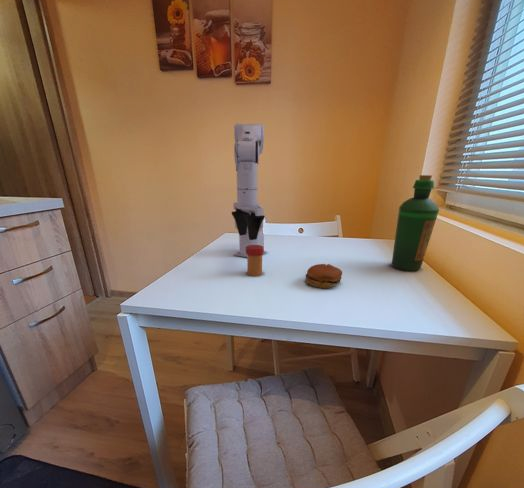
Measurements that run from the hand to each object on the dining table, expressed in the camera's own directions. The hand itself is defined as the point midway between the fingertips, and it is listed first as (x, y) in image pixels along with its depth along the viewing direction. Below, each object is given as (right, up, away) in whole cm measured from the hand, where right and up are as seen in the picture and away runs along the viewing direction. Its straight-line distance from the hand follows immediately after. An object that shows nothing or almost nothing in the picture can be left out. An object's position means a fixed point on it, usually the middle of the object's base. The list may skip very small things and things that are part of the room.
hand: (247, 237), depth 83 cm
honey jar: (+2, -11, +1) cm, 11 cm away
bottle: (+51, -9, +8) cm, 53 cm away
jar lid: (+2, -4, -2) cm, 5 cm away
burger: (+21, -14, -5) cm, 26 cm away
